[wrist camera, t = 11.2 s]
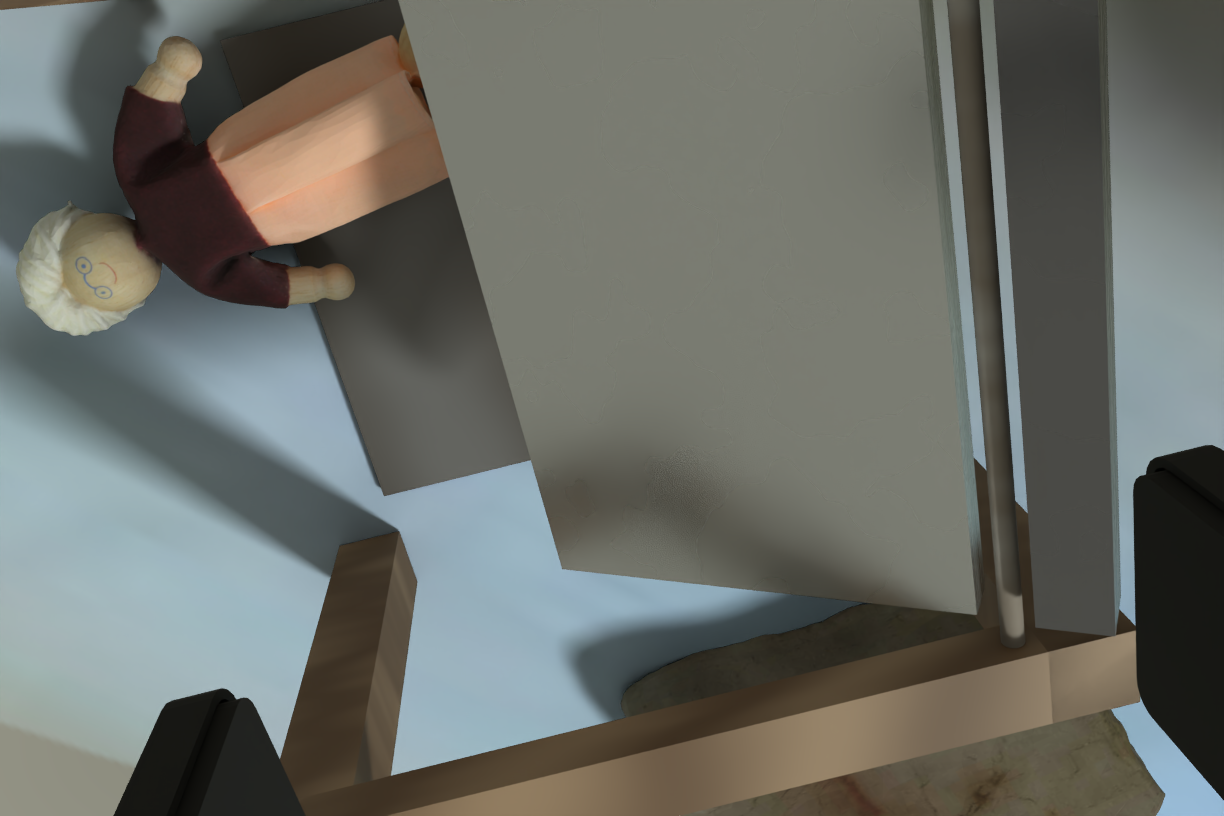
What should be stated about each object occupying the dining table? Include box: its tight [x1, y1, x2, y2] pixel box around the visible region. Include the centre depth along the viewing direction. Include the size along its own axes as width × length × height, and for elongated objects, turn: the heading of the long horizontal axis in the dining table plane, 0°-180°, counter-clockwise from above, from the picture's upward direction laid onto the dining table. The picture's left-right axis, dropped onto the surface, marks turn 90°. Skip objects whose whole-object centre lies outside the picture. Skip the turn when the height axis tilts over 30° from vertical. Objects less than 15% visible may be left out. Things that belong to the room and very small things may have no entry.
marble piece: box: [621, 604, 1165, 816], centre depth 38 cm, size 17×15×4 cm
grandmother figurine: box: [16, 24, 449, 336], centre depth 27 cm, size 8×4×13 cm
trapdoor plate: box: [398, 0, 1121, 637], centre depth 22 cm, size 13×15×1 cm
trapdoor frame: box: [0, 0, 1140, 816], centre depth 24 cm, size 20×21×13 cm
